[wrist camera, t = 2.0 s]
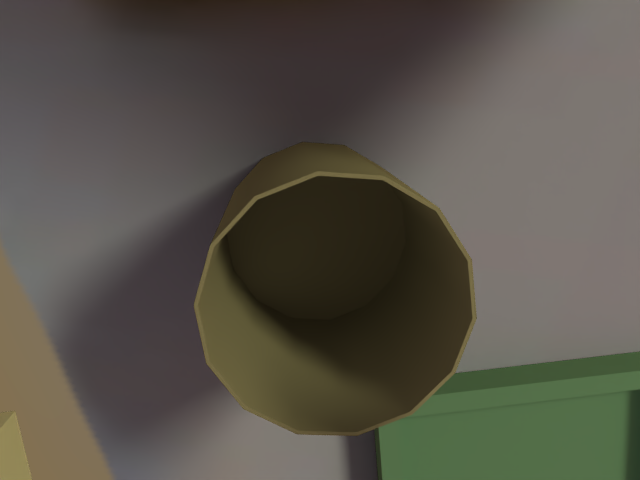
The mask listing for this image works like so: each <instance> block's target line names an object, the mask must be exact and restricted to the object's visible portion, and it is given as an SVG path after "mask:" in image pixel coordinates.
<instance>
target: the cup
mask: <svg viewBox="0 0 640 480" xmlns="http://www.w3.org/2000/svg"><path fill="white" fill-rule="evenodd" d="M194 309H195V314H196V318H197V323H198V327H199V332H200V337H201V341H202V346H203V350H204V355H205V360H206V364H207V365H208V366H209V367H210V369H211V370H212V371H213V372H214V373H215V375H216V376H217V377H218V378H219V380H220V381H221V382H222V383H223V384H224V386H225V387H226V388H227V389H228V391H229V392H230V393H231V394H232V395H233V397H234V398H235V399H236V400H237V402H238V403H239V404H240V405H241V406H242V408H243V409H245V410H247V411H249V412H251V413H253V414H255V415H257V416H259V417H262V418H264V419H266V420H268V421H270V422H272V423H274V424H276V425H279V426H281V427H283V428H285V429H287V430H289V431H291V432H293V433H296V434H307V435H342V436H358V435H360V434H363V433H366V432H368V431H371V430H373V429H376V428H379V427H381V426H384V425H386V424H389V423H392V422H394V421H397V420H399V419H402V418H404V417H407V416H410V415H412V414H413V413H414V412H415V411H416V410H418V409H419V408H420V407H421V406H422V405H423V404H424V403H425V402H426V401H427V400H428V399H429V398H430V397H431V396H432V395H433V394H434V393H435V392H436V391H437V390H438V389H439V388H440V387H441V386H442V385H443V384H444V383H445V382H446V381H447V380H449V379H450V378H451V377H452V376H453V375H454V374H455V372H456V369H457V367H458V364H459V362H460V359H461V357H462V354H463V352H464V349H465V347H466V344H467V342H468V339H469V337H470V334H471V331H472V329H473V326H474V324H475V321H476V319H477V317H476V305H475V293H474V281H473V268H472V259H471V258H470V256H469V254H468V253H467V251H466V250H465V248H464V247H463V245H462V243H461V242H460V240H459V239H458V237H457V235H456V234H455V232H454V231H453V229H452V227H451V226H450V224H449V223H448V221H447V220H446V218H445V216H444V215H443V213H442V212H441V210H440V208H438V207H437V206H436V205H434V204H433V203H431V202H430V201H428V200H427V199H426V198H424V197H423V196H421V195H420V194H419V193H417V192H416V191H414V190H413V189H412V188H410V187H409V186H407V185H406V184H404V183H403V182H402V181H400V180H399V179H397V178H396V177H395V176H393V175H392V174H390V173H389V172H387V171H386V170H385V169H383V168H382V167H380V166H379V165H377V164H375V163H374V162H372V161H370V160H369V159H367V158H365V157H364V156H362V155H360V154H358V153H357V152H355V151H353V150H352V149H350V148H348V147H347V146H345V145H336V144H323V143H309V142H301V143H299V144H296V145H294V146H291V147H289V148H286V149H284V150H281V151H279V152H276V153H274V154H271V155H269V156H266V157H264V158H263V159H262V160H261V161H260V162H259V163H258V164H257V165H256V166H255V167H254V168H253V170H252V171H251V172H250V173H249V174H248V175H247V176H246V177H245V178H244V180H243V181H242V182H241V183H240V184H239V185H238V186H237V187H236V188H235V191H234V193H233V195H232V197H231V200H230V202H229V204H228V206H227V208H226V211H225V213H224V215H223V217H222V220H221V222H220V224H219V226H218V229H217V231H216V233H215V235H214V238H213V240H212V242H211V244H210V248H209V251H208V255H207V258H206V262H205V266H204V269H203V273H202V277H201V280H200V284H199V287H198V291H197V295H196V298H195V302H194Z"/></svg>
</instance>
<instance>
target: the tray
mask: <svg viewBox="0 0 640 480" xmlns="http://www.w3.org/2000/svg"><path fill="white" fill-rule="evenodd" d="M374 433H375V446H376V459H377V473H378V480H640V352H633V353H624V354H616V355H608V356H599V357H591V358H582V359H574V360H565V361H557V362H548V363H540V364H531V365H523V366H514V367H506V368H497V369H489V370H480V371H472V372H463V373H455V374H454V375H453V376H452V377H451V378H450V379H449V380H447V381H446V382H445V383H444V384H443V385H442V386H441V387H440V388H439V389H438V390H437V391H436V392H435V393H434V394H433V395H432V396H431V397H430V398H429V399H428V400H427V401H426V402H425V403H424V404H423V405H422V406H421V407H420V408H419V409H418V410H416V411H415V412H414V413H413V414H412V415H410V416H407V417H404V418H402V419H399V420H397V421H394V422H392V423H389V424H386V425H384V426H381V427H379V428H376V429H374Z"/></svg>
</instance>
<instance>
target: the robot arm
mask: <svg viewBox="0 0 640 480" xmlns="http://www.w3.org/2000/svg"><path fill="white" fill-rule="evenodd" d="M0 480H32V478H31V473H30V469H29V465H28V461H27V457H26V453H25V449H24V445H23V441H22V437H21V433H20V429H19V425H18V421H17V417H16V413H15V411H10V412H1V413H0Z"/></svg>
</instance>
